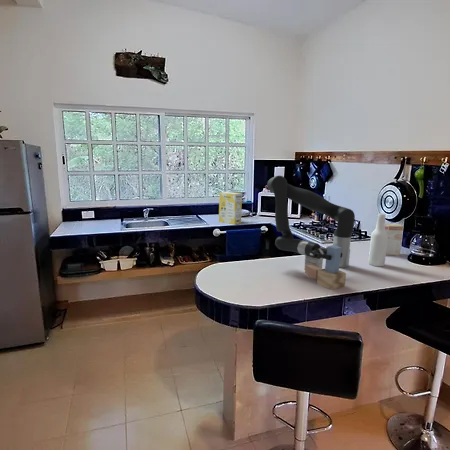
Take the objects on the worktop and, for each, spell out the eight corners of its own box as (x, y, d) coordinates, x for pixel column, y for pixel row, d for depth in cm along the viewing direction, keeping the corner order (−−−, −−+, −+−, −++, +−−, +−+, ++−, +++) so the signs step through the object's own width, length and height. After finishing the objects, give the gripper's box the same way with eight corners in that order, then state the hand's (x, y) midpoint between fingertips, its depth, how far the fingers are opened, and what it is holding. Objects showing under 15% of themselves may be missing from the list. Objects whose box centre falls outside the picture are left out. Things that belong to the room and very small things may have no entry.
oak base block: (330, 280, 166) (331, 267, 165) (344, 287, 158) (346, 272, 157) (316, 283, 162) (318, 269, 160) (330, 290, 154) (332, 275, 153)
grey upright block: (309, 267, 186) (311, 245, 184) (322, 270, 182) (324, 247, 179) (303, 270, 181) (305, 247, 178) (316, 273, 176) (318, 250, 174)
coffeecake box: (395, 252, 222) (399, 224, 218) (400, 255, 215) (404, 226, 211) (372, 251, 223) (375, 223, 219) (376, 254, 216) (379, 225, 212)
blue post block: (330, 268, 162) (333, 245, 159) (338, 271, 158) (341, 247, 156) (324, 270, 159) (327, 246, 156) (332, 273, 156) (335, 248, 153)
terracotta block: (304, 273, 176) (305, 265, 176) (312, 272, 178) (312, 264, 177) (315, 279, 167) (316, 271, 166) (323, 279, 168) (324, 270, 168)
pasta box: (241, 223, 312) (242, 193, 306) (234, 224, 303) (235, 194, 298) (225, 220, 322) (226, 191, 317) (218, 222, 314) (219, 192, 309)
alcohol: (375, 261, 200) (381, 212, 194) (387, 266, 192) (394, 214, 186) (364, 263, 197) (370, 212, 191) (376, 267, 189) (382, 215, 183)
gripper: (300, 243, 163) (328, 251, 151) (318, 240, 172) (346, 246, 159) (299, 258, 165) (326, 267, 152) (317, 254, 173) (344, 261, 161)
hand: (336, 256), depth 156 cm, fingers open, 8 cm apart
